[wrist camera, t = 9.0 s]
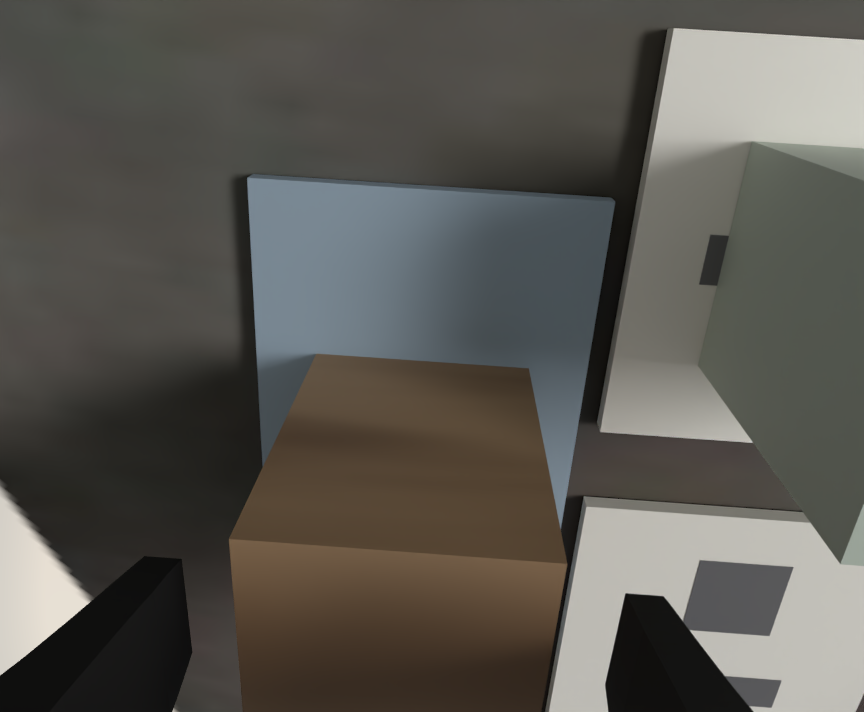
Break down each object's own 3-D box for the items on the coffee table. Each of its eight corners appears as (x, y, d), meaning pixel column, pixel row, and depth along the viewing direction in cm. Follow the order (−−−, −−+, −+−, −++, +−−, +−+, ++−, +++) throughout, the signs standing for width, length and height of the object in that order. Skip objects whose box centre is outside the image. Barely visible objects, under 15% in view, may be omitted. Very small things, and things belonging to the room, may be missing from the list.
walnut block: (507, 538, 16) (528, 785, 11) (318, 524, 17) (246, 763, 11) (528, 368, 15) (567, 564, 9) (316, 353, 15) (229, 538, 9)
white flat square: (956, 448, 15) (969, 458, 15) (596, 422, 16) (600, 432, 15) (1127, 57, 12) (1148, 58, 12) (667, 28, 12) (674, 28, 12)
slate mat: (536, 649, 18) (538, 661, 18) (275, 629, 19) (271, 641, 18) (611, 197, 13) (615, 201, 13) (253, 173, 14) (247, 177, 13)
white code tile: (825, 749, 20) (832, 764, 19) (541, 728, 20) (543, 741, 19) (925, 521, 16) (936, 532, 16) (583, 496, 16) (586, 507, 16)
